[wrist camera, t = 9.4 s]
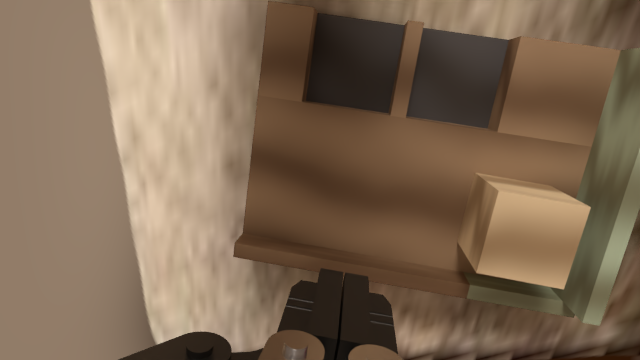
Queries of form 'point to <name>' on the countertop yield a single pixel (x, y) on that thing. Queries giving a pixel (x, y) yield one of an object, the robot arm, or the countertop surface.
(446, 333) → the countertop surface
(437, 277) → the box
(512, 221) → the maple block
